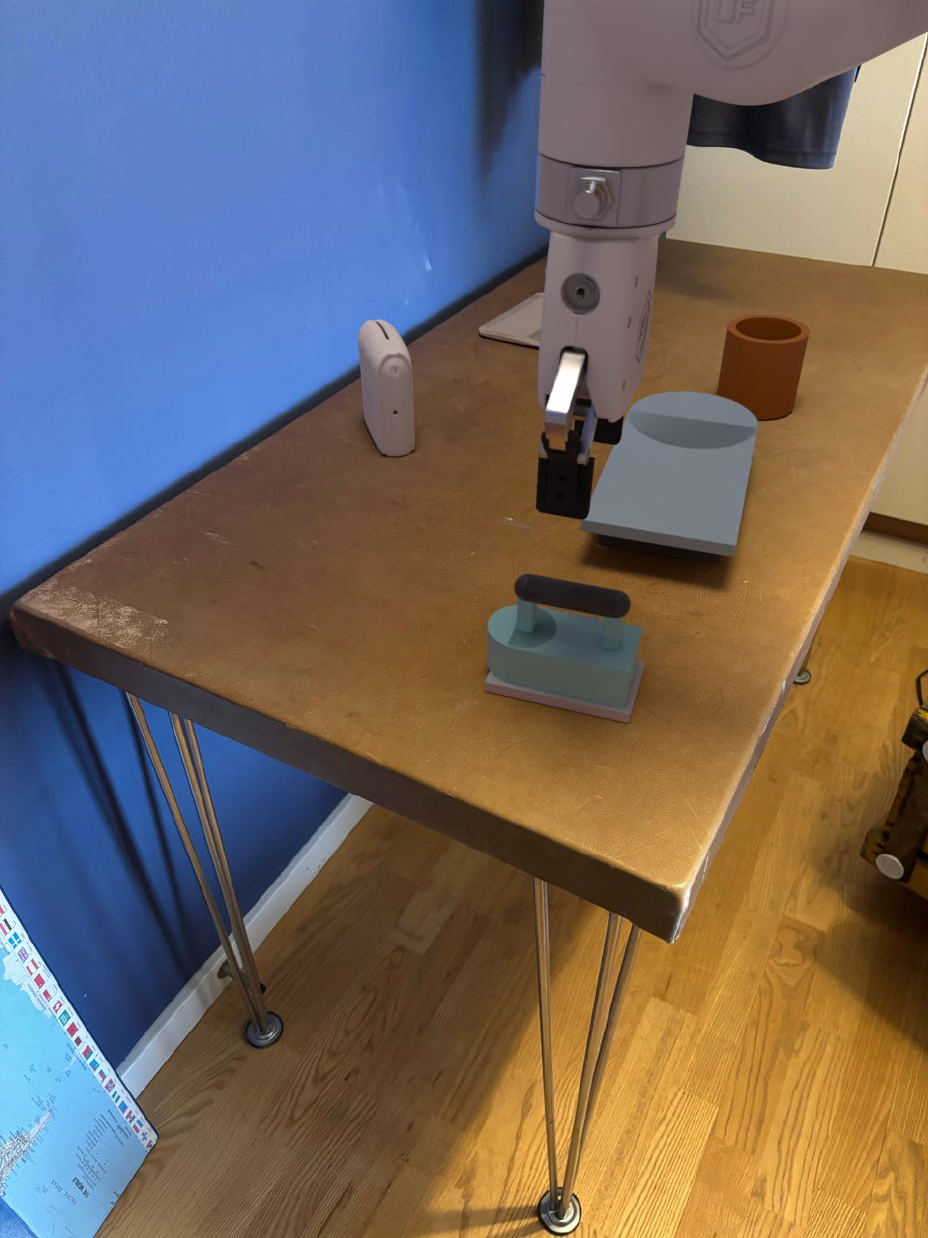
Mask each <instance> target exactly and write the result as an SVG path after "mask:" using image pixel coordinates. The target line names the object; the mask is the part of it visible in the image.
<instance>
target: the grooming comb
mask: <svg viewBox="0 0 928 1238" xmlns="http://www.w3.org/2000/svg"><path fill="white" fill-rule="evenodd" d="M543 298H544V291H543V292H537V293H534V294H532V295H531V296H530V297H528V298H526V299H524V300H523V301H521V302H520V303H518V304H516V305H515V306H513V307H512V308H509V309H508V310H506V311H504V312H503V313H501V314H499V315H498V316H496V317H495V318H493V319H491V320H489V321H487V322H486V323H483V325H481V326H479V327H478V333H479V335H481V336H483V337H487V338H490V339H494V340H498V341H504V342H509V343H513V344H518V345H524V346H525V345H526V346H530V347H531V346H532V347H538V348H540V333H541V321H542V309H543Z"/></svg>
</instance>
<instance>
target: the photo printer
mask: <svg viewBox="0 0 928 1238" xmlns="http://www.w3.org/2000/svg"><path fill="white" fill-rule="evenodd" d="M357 346H358V355H359V356H358V357H359V369H360V381H361V394H362V406H363V407H362V409H363V417H364V422H365V424H366V426H367V429H368V431H369V433H370V435H371V437H372V439H373V442H374V445H376V447H377V449H378V450H379V452H380V453H381V454H382V455H386V456H387V457H402V456H406V455H409V454H410V453H411V452H412V451H414V450H415V445H416V444H415V443H416V435H415V432H416V431H415V410H414V409H415V407H414V387H413V385H414V383H413V365H412V359H411V355H410V352H409V350H408V347H407V346H406V342H405V341H404V339H403V338H402V336H401V335H400V333H399V331H398V330H397V329H396V328H395V327H394V326H393V325H392V324H391V323H390V322H388V321H386V320H383V319H381V318H380V319H379V318H378V319H375V320H371V319H369V320H366V321H365V322H364V323H363V324H362V325H361V327H360V329H359V331H358V335H357Z"/></svg>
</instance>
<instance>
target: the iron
mask: <svg viewBox="0 0 928 1238" xmlns="http://www.w3.org/2000/svg"><path fill="white" fill-rule="evenodd" d="M513 584H514V586H513V590H514V594H515V595H516V598H517V599H516V604H511V605H507V606H504V607H502V608H500V609H498V610H496V611H495V612H494V613H493V614H492V615H491V616H490V617H489V619H488V621H487V627H486V628H487V631H486V632H487V633H486V635H487V636H486V637H487V638H486V639H487V643H486V645H487V646H486V648H487V649H486V651H487V652H486V654H487V655H486V664H487V667H488V669H489V672H488V674H487V676H486V678H485V680H484V691H485V692H487V693H491V694H496V695H500V696H505V697H510V698H513V699H517V700H523V701H526V702H532V703H537V704H541V705H545V706H548V707H549V706H550V707H554V708H557V709H558V708H559V709H563V710H568V711H571V712H575V713H581V714H584V715H585V714H586V715H589V716H594V717H598V718H603V719H606V720H607V719H608V720H613V721H617V722H620V723H621V722H622V723H626V724H630V721H631V719H632V715H633V711H634V707H635V703H636V701H637V700H636V699H637V695H638V692H639V689H640V686H641V681H642V677H643V674H644V673H643V672H644V669H645V661H643V660H639V655H640V649H641V641H642V636H643V635H642V633H643V626H640V625H639V626H638V625H633V624H629V623H625V618H626V616H627V615H628V614H629V612H630V610H631V607H632V602H631V598H630V597H629V595H628V594H627V593H626V592H624V591H622V590H619V589H613V588H609V587H604V586H598V585H592V584H587V583H581V582H576V581H571V580H566V579H560V578H555V577H551V576H545V575H539V574H534V573H524V574H521V575H520V576H518V577H517V579H515V582H514V583H513ZM538 605H543V606H548V607H553V608H559V609H562V610H567V611H562V610H557V609H551V608H546V607H542V606H538ZM568 611H573V612H578V613H583V615H582V614H578V613H573V612H568ZM584 613H585V614H588V615H595V616H599V617H604V619H602V618H598V617H592V616H586V615H584Z"/></svg>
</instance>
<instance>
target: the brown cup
mask: <svg viewBox="0 0 928 1238" xmlns="http://www.w3.org/2000/svg"><path fill="white" fill-rule="evenodd" d="M810 332H811V331H810V328H809V327H808V326H807V325H806V324H804V323H803V322H801V321H798V320H796V319H793V318H790V317H786V316H781V315H774V314H749V315H742V316H739V317H735V318H734V319H732V320H730V321H729V322H728V324H727V326H726V331H725V338H724V346H723V352H722V358H721V365H720V370H719V375H718V376H719V377H718V385H717V390H716V396H720V397H723V398H726V399H729V400H732V401H734V402H736V403H738V404H740V405H742V406H744V407H745V408H747V409H748V410H749V411H750V412H752V413H753V415H754V416H755V417H756V419H757V420H771V419H772V420H773V419H779V418H783V417H785V416H788V415H789V414H790V413H792V412H793V411H794V410H793V409H794V407H795V403H796V397H797V394H798V390H799V389H798V388H799V384H800V379H801V374H802V369H803V365H804V362H805V361H804V360H805V355H806V352H807V347H808V342H809V337H810Z"/></svg>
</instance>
